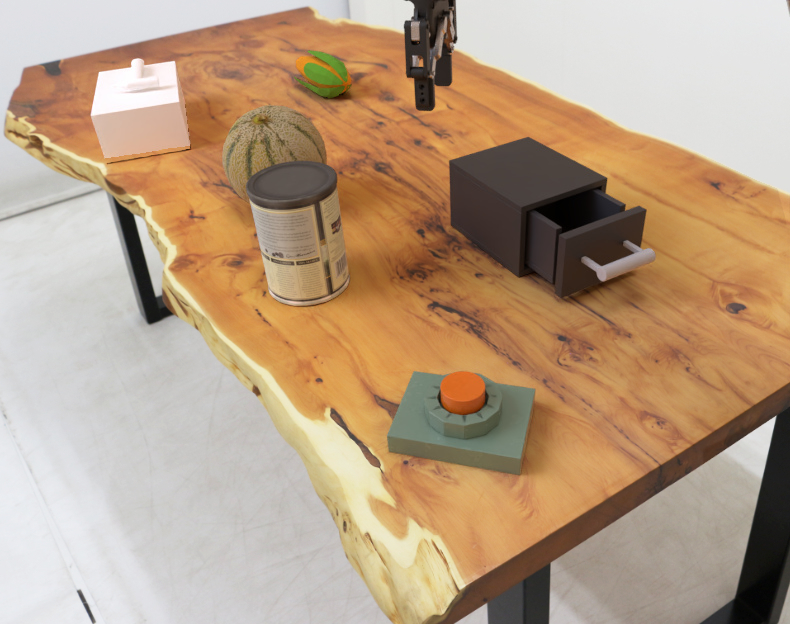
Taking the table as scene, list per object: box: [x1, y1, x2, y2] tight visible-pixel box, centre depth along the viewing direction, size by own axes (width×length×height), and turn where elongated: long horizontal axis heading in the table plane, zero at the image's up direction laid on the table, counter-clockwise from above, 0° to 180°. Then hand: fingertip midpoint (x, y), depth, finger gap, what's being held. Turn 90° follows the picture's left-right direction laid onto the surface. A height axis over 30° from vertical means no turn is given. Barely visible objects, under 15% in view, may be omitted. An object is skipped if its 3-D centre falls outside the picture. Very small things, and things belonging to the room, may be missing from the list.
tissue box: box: [90, 57, 191, 159], centre depth 131 cm, size 14×25×11 cm, turn 16°
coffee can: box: [246, 161, 351, 307], centre depth 84 cm, size 10×10×14 cm
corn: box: [293, 49, 353, 99], centre depth 144 cm, size 7×8×20 cm
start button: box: [440, 370, 485, 415], centre depth 64 cm, size 4×4×2 cm
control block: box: [386, 370, 537, 476], centre depth 66 cm, size 12×9×4 cm
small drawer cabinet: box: [448, 136, 608, 278], centre depth 91 cm, size 16×13×10 cm
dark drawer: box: [524, 188, 657, 299], centre depth 84 cm, size 19×11×8 cm, turn 28°
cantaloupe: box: [221, 104, 328, 205], centre depth 102 cm, size 15×15×15 cm
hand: (434, 97), depth 86 cm, fingers open, 8 cm apart
